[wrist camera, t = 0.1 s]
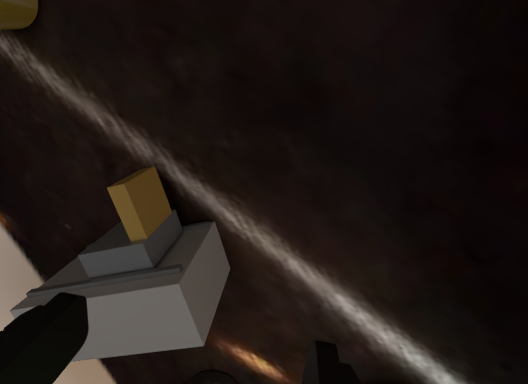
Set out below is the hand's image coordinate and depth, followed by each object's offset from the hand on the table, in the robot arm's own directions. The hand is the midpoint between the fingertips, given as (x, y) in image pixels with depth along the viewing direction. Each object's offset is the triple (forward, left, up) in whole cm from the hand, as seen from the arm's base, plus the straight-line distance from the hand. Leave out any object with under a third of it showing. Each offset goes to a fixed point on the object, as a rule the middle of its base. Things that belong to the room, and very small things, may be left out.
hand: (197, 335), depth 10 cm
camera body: (-20, +14, -29) cm, 38 cm away
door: (-10, +15, -27) cm, 32 cm away
